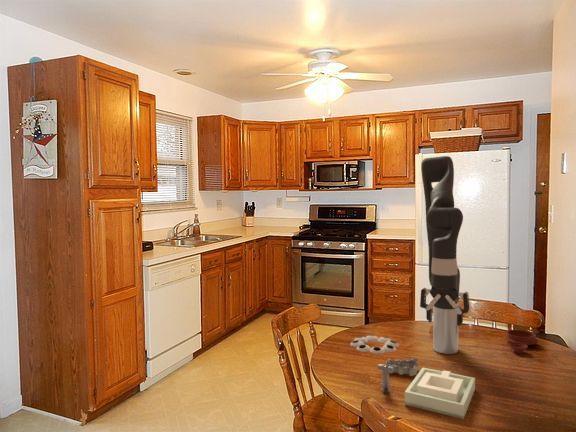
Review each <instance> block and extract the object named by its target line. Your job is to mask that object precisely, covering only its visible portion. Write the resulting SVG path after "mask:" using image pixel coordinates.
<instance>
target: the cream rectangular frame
mask: <svg viewBox="0 0 576 432" xmlns="http://www.w3.org/2000/svg"><path fill="white" fill-rule="evenodd" d="M442 371H443V372H442V374H441V375H439V374H434V373H429V372H426V373H425V375H424V376H423V378H422V379H421V380H420V382H419V383H418V385H417V393H419V394H424V395H428V396H432V397H437V398H441V399H445V400H450V401H454V402H458V403H459V401H460V399H461V397H462V394H463V379H458V378H453V377H451V373H452V371H450V370H449V371H448V370H442Z"/></svg>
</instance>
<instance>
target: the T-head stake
mask: <svg viewBox="0 0 576 432" xmlns="http://www.w3.org/2000/svg"><path fill="white" fill-rule="evenodd" d="M377 369H378V370H380V371H381V372H382V373H381V374H382V375H381V376H382V377H381V378H382V379H381V381H382V387H381V389H382V393H385V394H388V393H389V392H390V373H389V372H393V371H394V367H392V366H388V365H386V364H382V363H379V364H378V365H377Z"/></svg>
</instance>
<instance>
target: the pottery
mask: <svg viewBox="0 0 576 432" xmlns="http://www.w3.org/2000/svg"><path fill="white" fill-rule="evenodd" d="M504 338H505V340H506V341H509V343H508V345H509V347H510V348H511V350H513V353H515V354H518V355H521V354H523V353H524V352H525V351H526V350H527V349H528V348H529V346H530V345H531V346H532V345H536V344H538V343H539V340H538V339H537V338H536V333H534V332H532V331H528V330H523V329H509V330H507V332H506V335H505V336H504Z"/></svg>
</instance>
